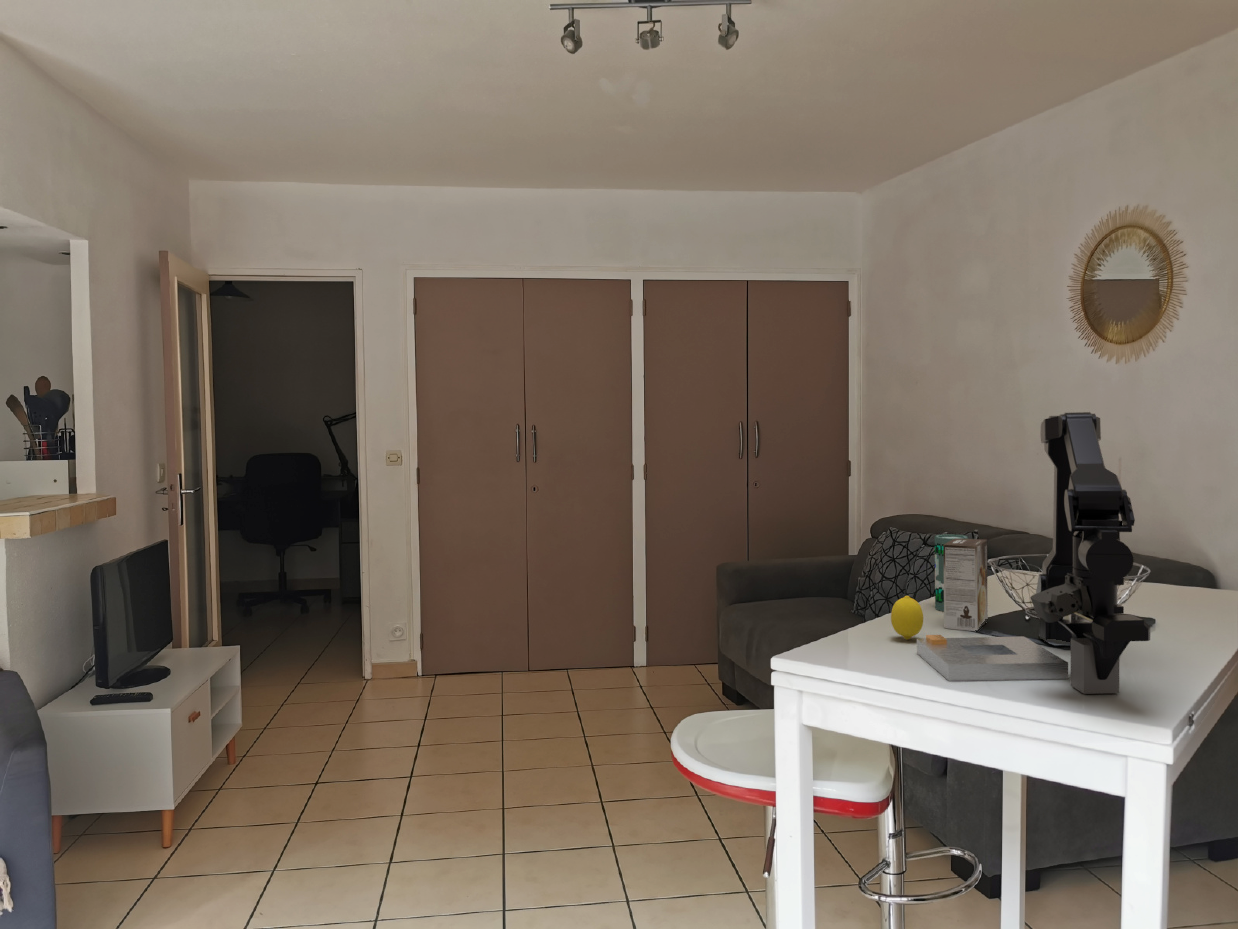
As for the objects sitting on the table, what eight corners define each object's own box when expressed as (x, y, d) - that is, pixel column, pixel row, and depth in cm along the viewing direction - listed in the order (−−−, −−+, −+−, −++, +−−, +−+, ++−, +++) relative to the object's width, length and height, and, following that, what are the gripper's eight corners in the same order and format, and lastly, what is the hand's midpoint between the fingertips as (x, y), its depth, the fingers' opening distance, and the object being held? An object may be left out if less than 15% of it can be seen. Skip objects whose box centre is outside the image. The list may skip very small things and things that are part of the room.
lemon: (925, 644, 160) (925, 599, 159) (892, 643, 161) (892, 598, 161) (921, 636, 165) (921, 592, 165) (889, 635, 166) (889, 592, 166)
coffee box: (953, 618, 178) (953, 537, 177) (988, 622, 175) (988, 539, 174) (943, 628, 171) (942, 543, 170) (979, 632, 167) (978, 545, 166)
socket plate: (1023, 651, 154) (1023, 631, 154) (1068, 678, 138) (1068, 657, 138) (916, 653, 154) (916, 633, 154) (948, 681, 138) (948, 659, 138)
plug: (1104, 684, 134) (1105, 637, 133) (1119, 693, 130) (1119, 644, 129) (1070, 685, 134) (1070, 638, 133) (1083, 693, 130) (1083, 645, 129)
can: (941, 604, 191) (940, 533, 190) (971, 607, 187) (970, 535, 187) (932, 610, 186) (931, 537, 185) (962, 613, 182) (962, 539, 182)
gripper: (1012, 559, 140) (1012, 658, 141) (1068, 581, 122) (1068, 696, 123) (1085, 557, 140) (1084, 657, 141) (1153, 580, 121) (1152, 694, 122)
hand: (1094, 675), depth 132 cm, fingers closed on plug, 4 cm apart
